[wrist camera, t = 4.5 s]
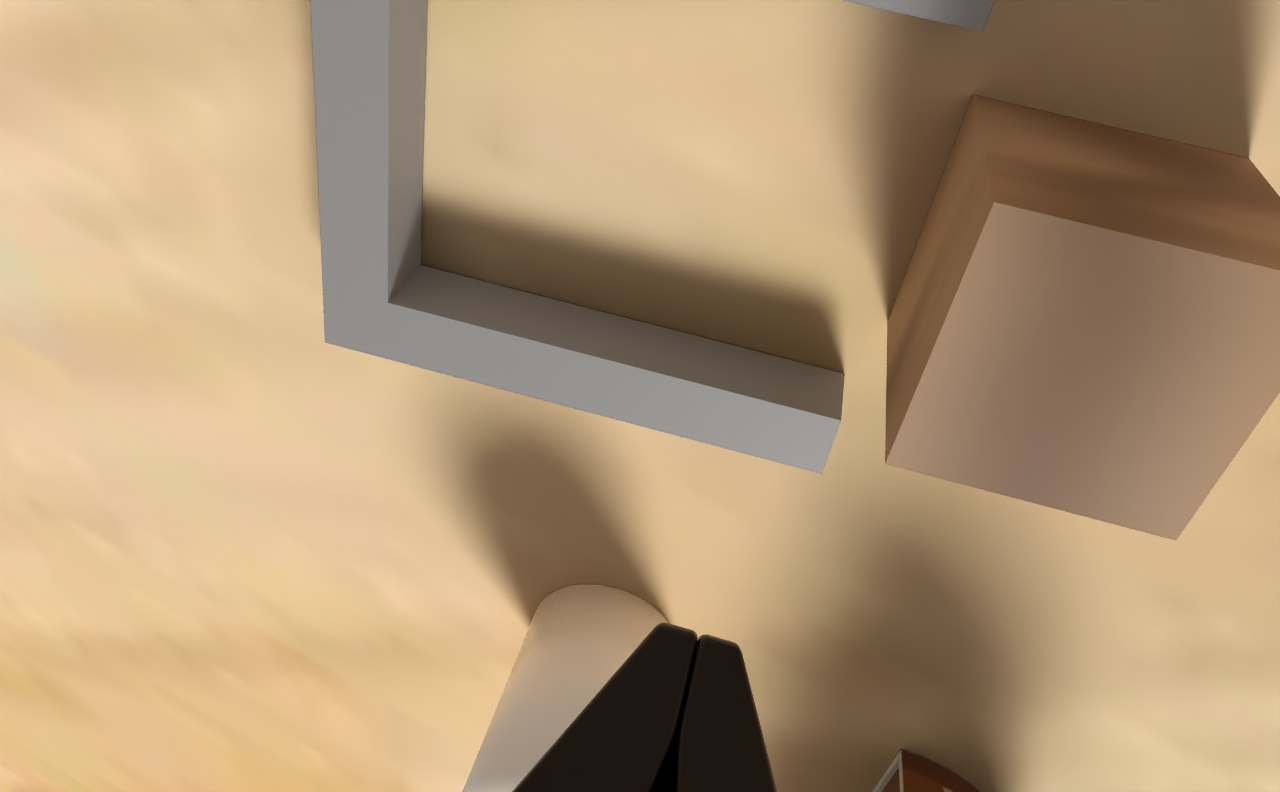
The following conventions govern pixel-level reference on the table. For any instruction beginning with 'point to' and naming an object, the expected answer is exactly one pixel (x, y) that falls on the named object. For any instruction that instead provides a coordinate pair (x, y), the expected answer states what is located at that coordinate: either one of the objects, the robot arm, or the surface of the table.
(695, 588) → the table surface
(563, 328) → the grey bay
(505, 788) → the white rounded cylinder
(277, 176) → the table surface
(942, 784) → the food container
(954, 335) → the walnut block
